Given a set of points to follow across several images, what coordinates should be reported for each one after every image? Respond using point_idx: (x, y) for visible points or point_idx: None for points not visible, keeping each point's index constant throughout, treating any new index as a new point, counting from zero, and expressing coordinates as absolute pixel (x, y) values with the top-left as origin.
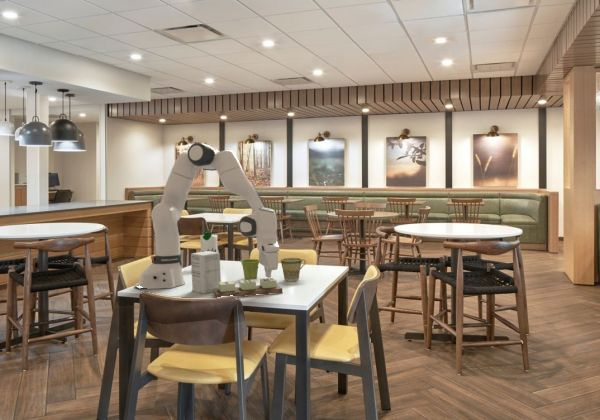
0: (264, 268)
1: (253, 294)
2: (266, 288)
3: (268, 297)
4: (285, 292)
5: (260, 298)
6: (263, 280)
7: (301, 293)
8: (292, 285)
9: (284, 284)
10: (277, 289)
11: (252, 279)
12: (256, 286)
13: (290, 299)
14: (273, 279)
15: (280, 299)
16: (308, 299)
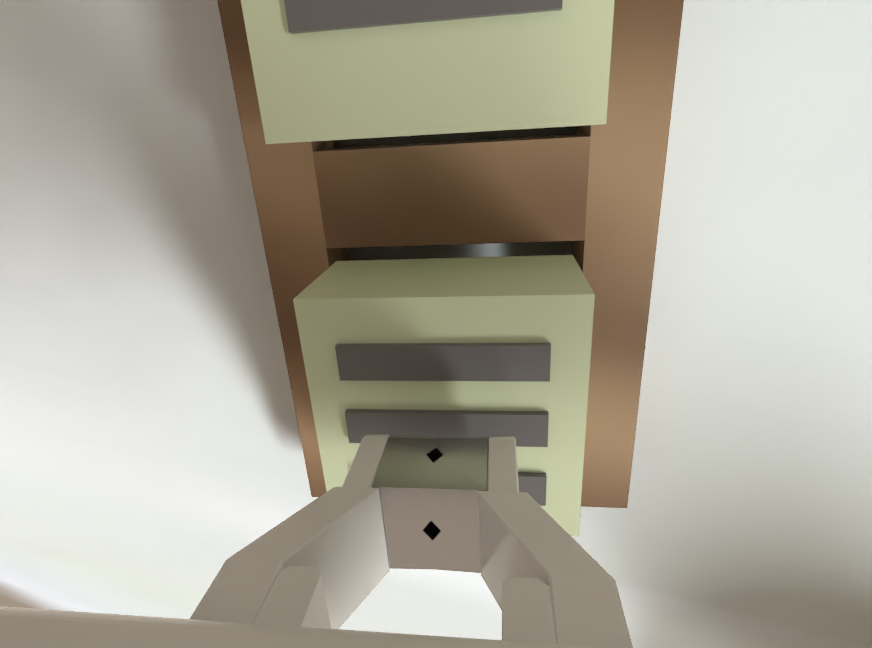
0: (593, 576)
1: None
2: None
3: (131, 263)
4: None
5: (84, 151)
6: (386, 331)
7: None
8: (672, 637)
9: (782, 591)
10: (304, 435)
11: (603, 110)
12: (568, 189)
13: (31, 449)
14: None
15: (31, 365)
16: (32, 570)
